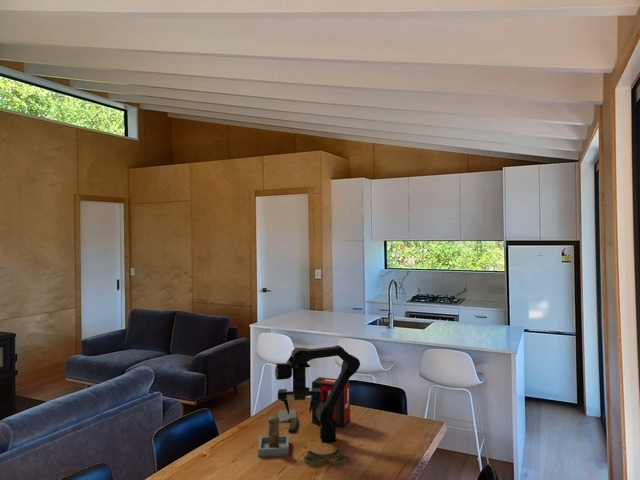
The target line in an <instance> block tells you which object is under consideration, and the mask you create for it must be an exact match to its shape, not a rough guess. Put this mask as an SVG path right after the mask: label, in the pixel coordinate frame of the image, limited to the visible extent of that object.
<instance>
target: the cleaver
mask: <svg viewBox="0 0 640 480" xmlns="http://www.w3.org/2000/svg"><path fill="white" fill-rule="evenodd" d="M297 413H298V412H297V410H296V409H295V408H291V409H290V408H289V414H288V411H287V409H280V410H279V412H278V414H277V416H278V417H279V423H290V424H289V427H288V433H292V434H293V433H295V432H296V431H297V429H298V426H299V418H298V417H297Z"/></svg>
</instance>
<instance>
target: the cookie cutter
mask: <svg viewBox="0 0 640 480" xmlns="http://www.w3.org/2000/svg"><path fill="white" fill-rule="evenodd" d="M341 451H342V450H341V448H340V447H337V448H336V449H335V450H334V451H332V452H329V453H317V452H314V451H312V450H307V455H305V456H303V461H304V463H305V464H306V465H308V466H311V467H319V466H323V465H324V464H326V463H328V465H329V466H332V467H333V468H334V467H341V466H344V465H346V463H348V462H351V459H350V458H351V457H350V456H348V455H346V454H341ZM333 457H334V460H330V458H333ZM320 459H321V460H320Z"/></svg>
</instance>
